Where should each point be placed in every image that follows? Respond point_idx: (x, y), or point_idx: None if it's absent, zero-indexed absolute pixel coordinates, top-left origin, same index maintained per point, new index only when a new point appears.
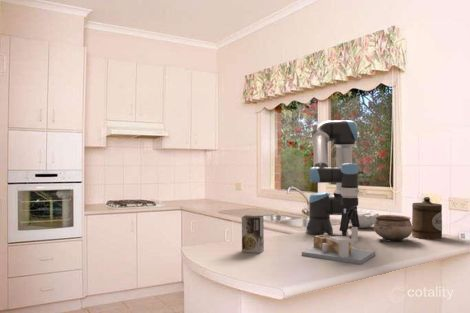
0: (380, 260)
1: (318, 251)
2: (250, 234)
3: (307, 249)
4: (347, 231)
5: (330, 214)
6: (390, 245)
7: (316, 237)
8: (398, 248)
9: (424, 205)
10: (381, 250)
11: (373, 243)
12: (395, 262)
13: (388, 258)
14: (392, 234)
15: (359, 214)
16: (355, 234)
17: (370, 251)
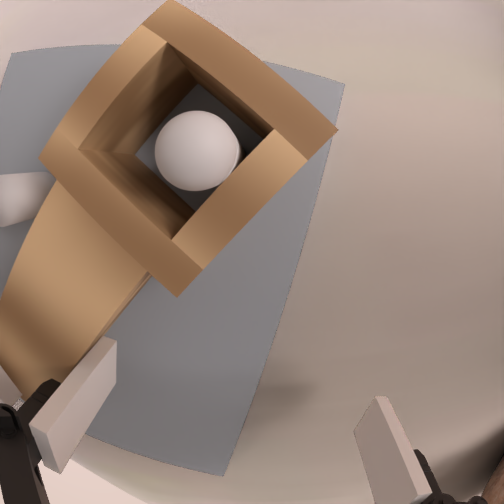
0: (117, 460)
1: (37, 143)
2: None
3: (74, 47)
4: (49, 467)
5: None
6: (448, 470)
7: (128, 45)
8: None
9: None
10: (342, 475)
11: (493, 415)
12: (122, 488)
13: (173, 488)
14: (491, 489)
15: None
16: (374, 463)
17: (204, 462)
